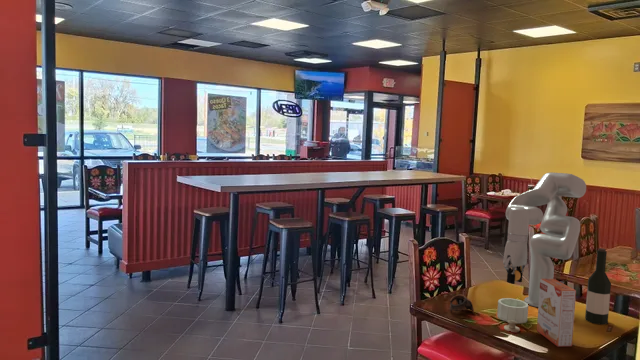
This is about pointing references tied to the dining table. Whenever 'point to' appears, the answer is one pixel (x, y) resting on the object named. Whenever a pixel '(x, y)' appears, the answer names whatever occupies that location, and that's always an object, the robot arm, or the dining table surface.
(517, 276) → the ball
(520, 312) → the pale green bowl
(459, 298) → the pottery mug
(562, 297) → the cracker box
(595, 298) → the wine bottle
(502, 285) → the dining table surface
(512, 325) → the ball stand
